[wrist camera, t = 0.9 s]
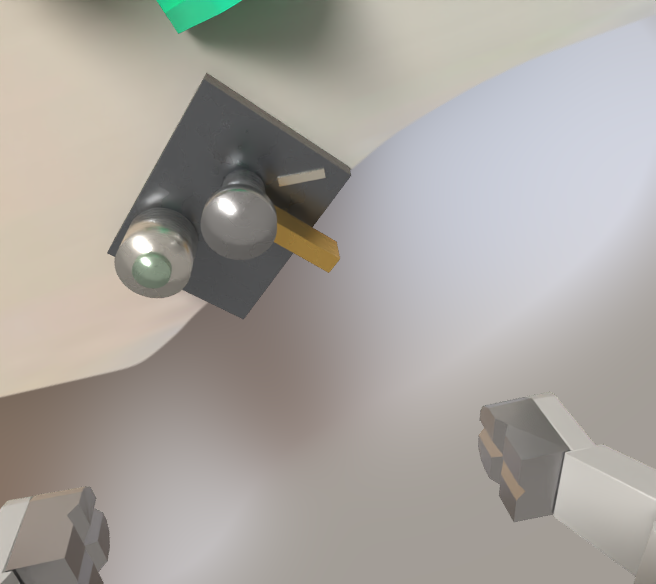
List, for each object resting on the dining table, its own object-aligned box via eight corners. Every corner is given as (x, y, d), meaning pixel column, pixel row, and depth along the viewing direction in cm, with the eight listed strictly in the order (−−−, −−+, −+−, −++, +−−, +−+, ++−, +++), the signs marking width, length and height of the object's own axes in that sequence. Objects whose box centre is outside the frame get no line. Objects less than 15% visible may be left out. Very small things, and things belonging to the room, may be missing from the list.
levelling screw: (198, 198, 47) (186, 237, 41) (231, 144, 44) (224, 178, 39) (312, 262, 51) (317, 306, 45) (348, 216, 49) (358, 256, 43)
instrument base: (206, 72, 43) (194, 99, 37) (348, 166, 49) (359, 204, 42) (112, 242, 51) (88, 288, 44) (244, 307, 56) (240, 357, 50)
